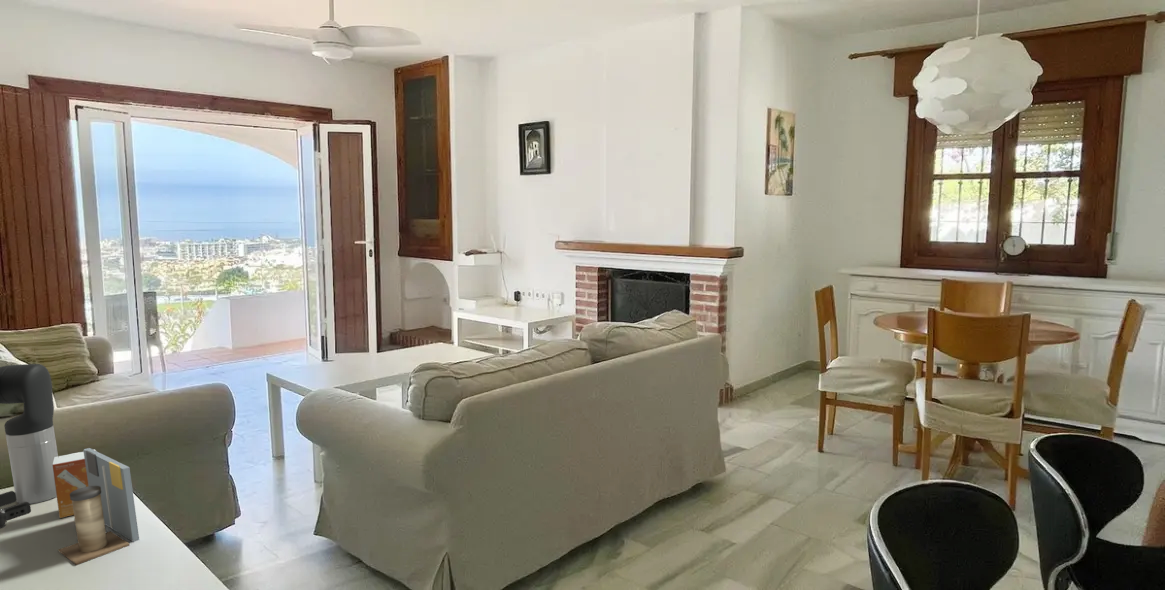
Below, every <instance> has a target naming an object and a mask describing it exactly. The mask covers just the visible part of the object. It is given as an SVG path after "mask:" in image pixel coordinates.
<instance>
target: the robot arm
mask: <svg viewBox="0 0 1165 590" xmlns="http://www.w3.org/2000/svg"><path fill="white" fill-rule="evenodd" d="M0 404H6V405H8V404H9V405H11V404H12V405H13V404H23V413H22V414H20V415H17V416H14V417H12V418H10V419H7V420H6V422H5V423H4V433H5V439H6V445H7V451H8V458H9V462H10V463H9V464H10V468H11V469H10V470H11V475H12V481H13V482H12V483H13V489H14V491H13V490H10V491H6V492H3V493H0V529H3V528H5V527H6V524H7V522H8V521H11V520H14V519H17V518H19V517H22V516H26V515H29V514H30V513H31V512H32V509H31V504H36V503H41V502H45V501H48V500H52V499H54V498H57V496H56V488H55V481H54V474H53V461H54V457H58V456H59V454H58V447H57V441H56V435H55V428H54V421H53V420H54V413H55V406H54V405H55V404H54V396H53V384H52V377H51V374H50V372H49V370H48V368H47V367H46V366H45V365H43V364H40V363H29V364H28V363H27V364H9V365H4V366H0ZM14 503H17V504H15V505H11V506H7V505H10V504H14ZM4 506H7V507H4ZM1 507H4V508H1Z"/></svg>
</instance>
